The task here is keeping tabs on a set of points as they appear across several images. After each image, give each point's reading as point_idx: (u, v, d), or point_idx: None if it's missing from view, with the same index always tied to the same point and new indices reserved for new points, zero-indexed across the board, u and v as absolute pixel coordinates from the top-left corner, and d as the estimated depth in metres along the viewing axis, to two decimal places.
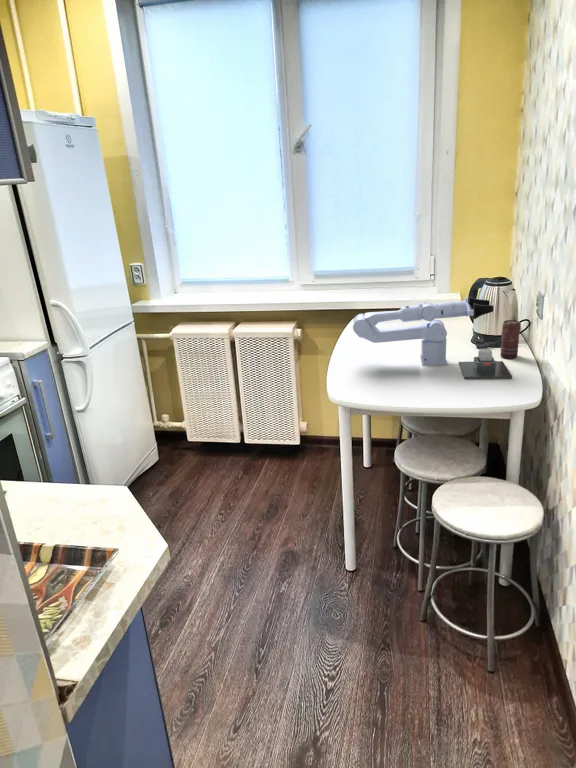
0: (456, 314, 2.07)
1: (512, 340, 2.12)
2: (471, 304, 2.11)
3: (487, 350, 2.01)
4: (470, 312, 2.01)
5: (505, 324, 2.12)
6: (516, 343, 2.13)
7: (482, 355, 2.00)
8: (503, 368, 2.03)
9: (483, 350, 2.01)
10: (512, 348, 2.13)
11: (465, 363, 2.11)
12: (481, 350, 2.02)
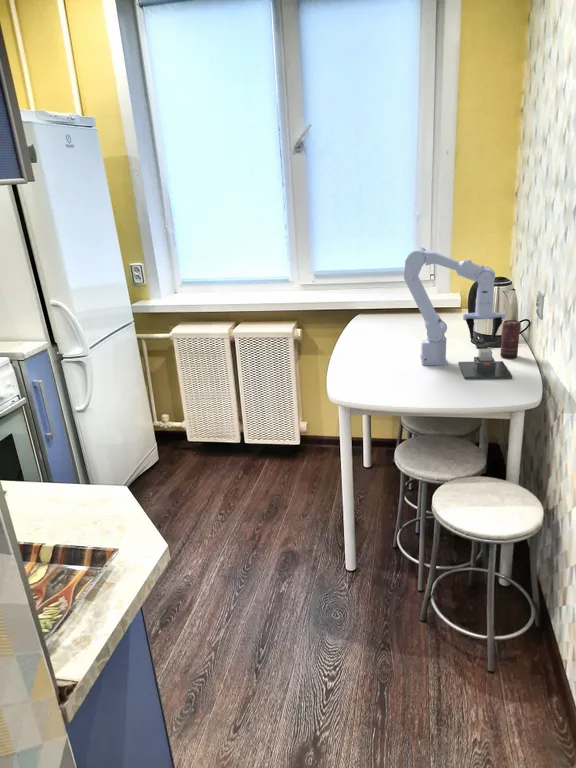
0: None
1: (512, 340, 2.12)
2: (494, 321, 2.04)
3: (487, 350, 2.01)
4: (463, 316, 2.05)
5: (505, 324, 2.12)
6: (516, 343, 2.13)
7: (482, 355, 2.00)
8: (503, 368, 2.03)
9: (483, 350, 2.01)
10: (512, 348, 2.13)
11: (465, 363, 2.11)
12: (481, 350, 2.02)
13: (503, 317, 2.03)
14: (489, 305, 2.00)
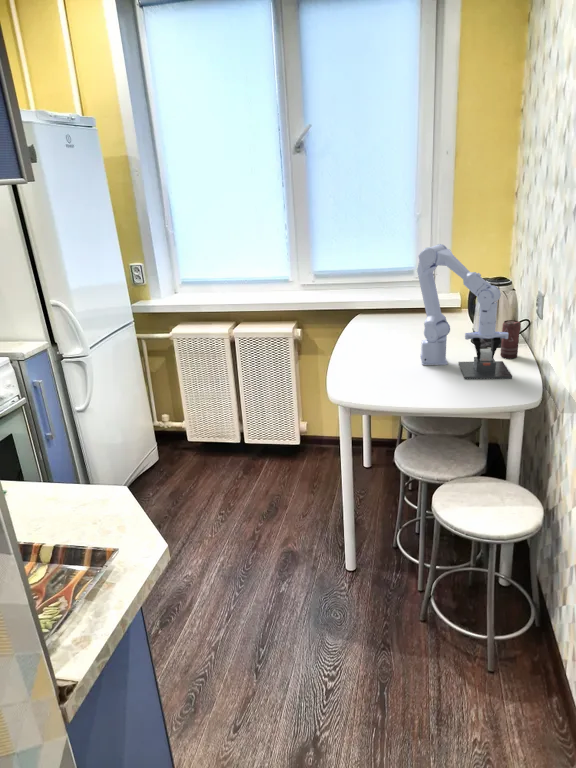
0: None
1: (512, 340, 2.12)
2: (492, 340, 2.00)
3: (487, 350, 2.01)
4: (465, 336, 2.01)
5: (505, 324, 2.12)
6: (516, 343, 2.13)
7: (482, 355, 2.00)
8: (503, 368, 2.03)
9: (483, 350, 2.01)
10: (512, 348, 2.13)
11: (465, 363, 2.11)
12: (481, 350, 2.02)
13: (506, 337, 1.98)
14: (492, 325, 1.95)
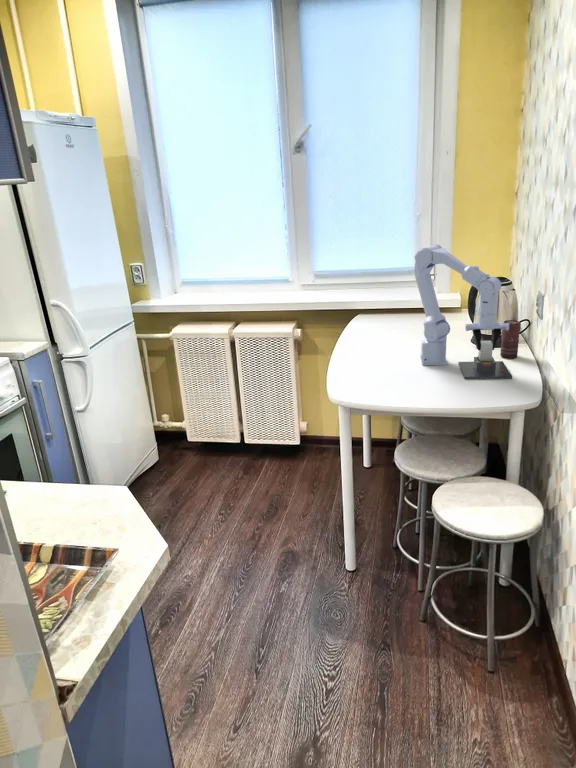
0: None
1: (512, 340, 2.12)
2: (493, 332, 1.99)
3: (488, 342, 2.00)
4: (465, 327, 1.99)
5: None
6: (516, 343, 2.13)
7: (483, 347, 1.99)
8: (503, 368, 2.03)
9: (483, 342, 2.00)
10: (512, 348, 2.13)
11: (465, 363, 2.11)
12: (482, 342, 2.01)
13: (507, 328, 1.97)
14: (492, 316, 1.94)
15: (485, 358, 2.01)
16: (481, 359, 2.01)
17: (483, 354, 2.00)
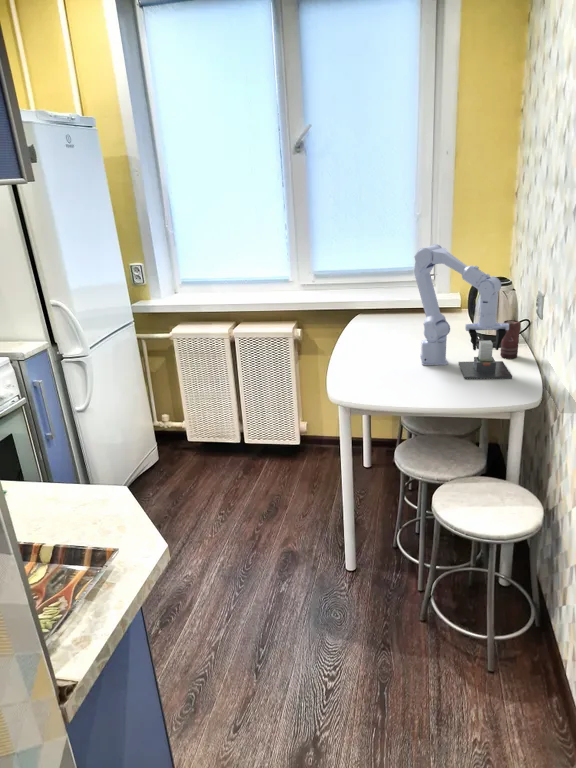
0: None
1: (512, 340, 2.12)
2: (497, 332, 1.98)
3: (488, 342, 2.00)
4: (465, 327, 1.99)
5: None
6: (516, 343, 2.13)
7: (483, 347, 1.99)
8: (503, 368, 2.03)
9: (483, 342, 2.00)
10: (512, 348, 2.13)
11: (465, 363, 2.11)
12: (482, 342, 2.01)
13: (507, 328, 1.97)
14: (492, 316, 1.94)
15: (485, 358, 2.01)
16: (481, 359, 2.01)
17: (483, 354, 2.00)
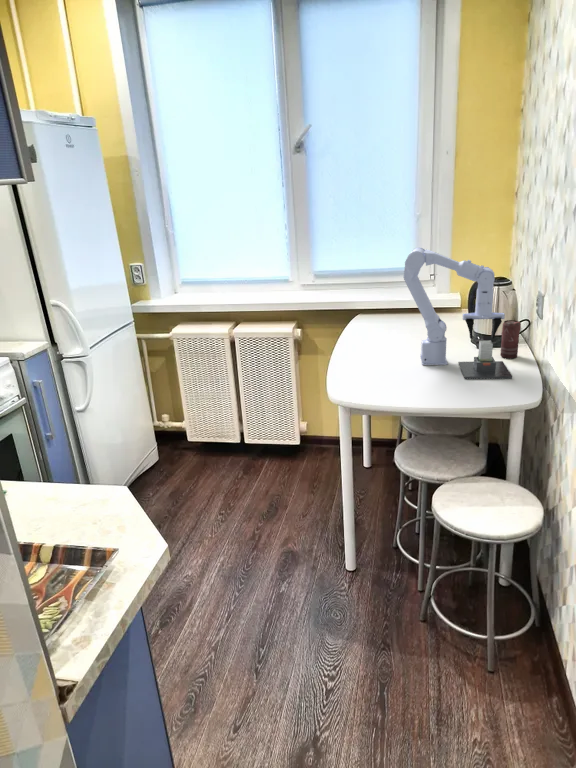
0: None
1: (512, 340, 2.12)
2: (493, 321, 2.05)
3: (488, 342, 2.00)
4: (462, 316, 2.06)
5: (505, 324, 2.12)
6: (516, 343, 2.13)
7: (483, 347, 1.99)
8: (503, 368, 2.03)
9: (483, 342, 2.00)
10: (512, 348, 2.13)
11: (465, 363, 2.11)
12: (482, 342, 2.01)
13: (502, 317, 2.03)
14: (488, 305, 2.01)
15: (485, 358, 2.01)
16: (481, 359, 2.01)
17: (483, 354, 2.00)
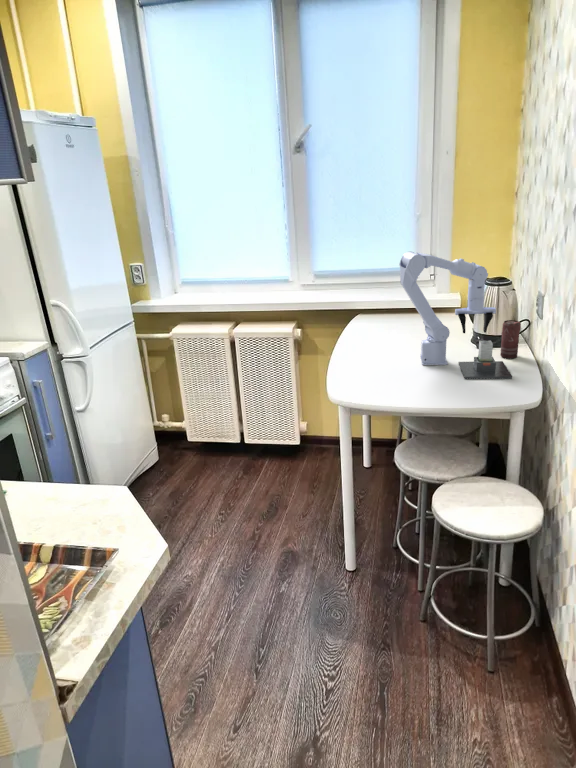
0: None
1: (512, 340, 2.12)
2: (485, 315, 2.12)
3: (488, 342, 2.00)
4: (455, 311, 2.13)
5: (505, 324, 2.12)
6: (516, 343, 2.13)
7: (483, 347, 1.99)
8: (503, 368, 2.03)
9: (483, 342, 2.00)
10: (512, 348, 2.13)
11: (465, 363, 2.11)
12: (482, 342, 2.01)
13: (494, 312, 2.10)
14: (480, 300, 2.08)
15: (485, 358, 2.01)
16: (481, 359, 2.01)
17: (483, 354, 2.00)
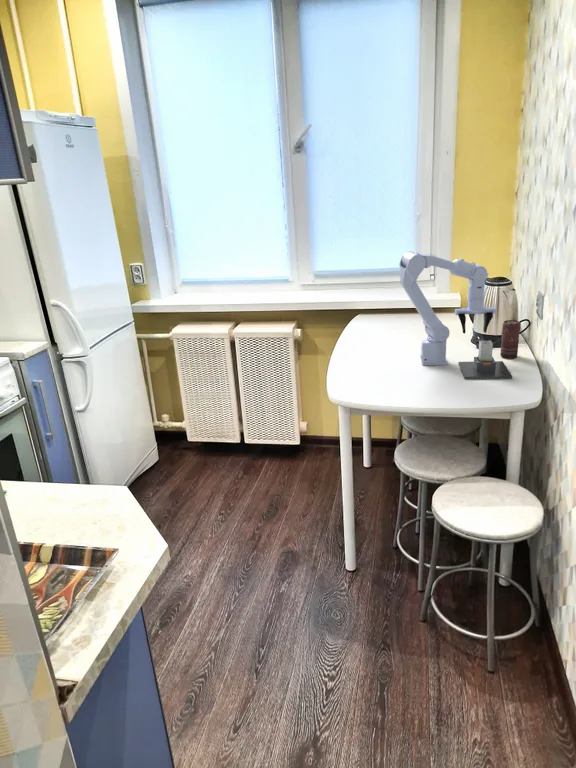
0: None
1: (512, 340, 2.12)
2: (485, 315, 2.12)
3: (488, 342, 2.00)
4: (455, 311, 2.13)
5: (505, 324, 2.12)
6: (516, 343, 2.13)
7: (483, 347, 1.99)
8: (503, 368, 2.03)
9: (483, 342, 2.00)
10: (512, 348, 2.13)
11: (465, 363, 2.11)
12: (482, 342, 2.01)
13: (494, 312, 2.10)
14: (480, 300, 2.08)
15: (485, 358, 2.01)
16: (481, 359, 2.01)
17: (483, 354, 2.00)
